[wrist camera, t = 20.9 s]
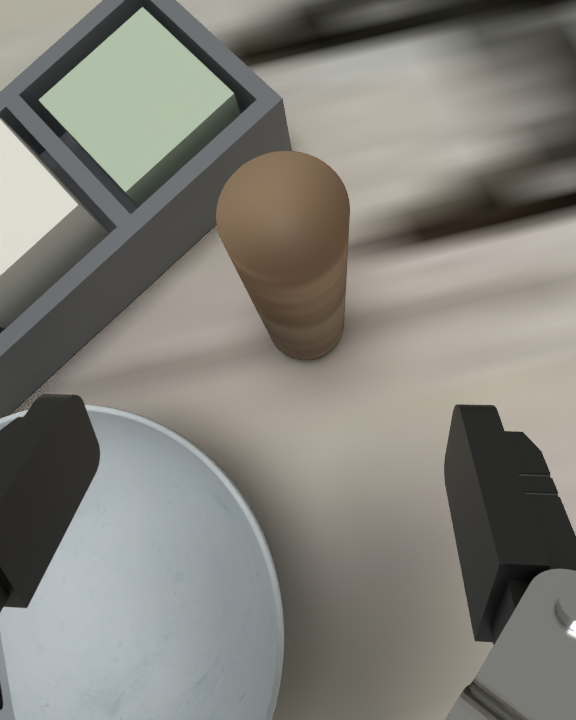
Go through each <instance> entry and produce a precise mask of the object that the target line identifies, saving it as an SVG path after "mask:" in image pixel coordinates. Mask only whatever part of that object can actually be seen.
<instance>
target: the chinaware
mask: <svg viewBox="0 0 576 720" xmlns="http://www.w3.org/2000/svg"><path fill="white" fill-rule="evenodd" d="M84 405H85V404H84ZM85 407H86V410H87V413H88V416H89V418H90V421H91V424H92V426H93V429H94V432H95V435H96V437H97V440H98V443H99V447H100V461H99V466H98V469H97V472H96V474H95V476H94V478H93V480H92V482H91V484H90V486H89V488H88V490H87V492H86V494H85V496H84V498H83V500H82V502H81V503H80V505H79V507H78V509H77V511H76V513H75V515H74V517H73V519H72V521H71V523H70V525H69V527H68V529H67V531H66V533H65V535H64V537H63V539H62V541H61V543H60V545H59V547H58V549H57V551H56V553H55V554H54V556H53V558H52V560H51V562H50V564H49V566H48V568H47V570H46V572H45V574H44V576H43V578H42V580H41V582H40V584H39V586H38V588H37V590H36V592H35V594H34V596H33V598H32V600H31V602H30V603H29V605H28V607H27V608H15V607H3V609H2V611H1V612H0V634H1V640H2V646H3V652H4V658H5V664H6V670H7V676H8V682H9V688H10V694H11V700H12V706H13V711H14V716H15V719H16V720H272V718H273V714H274V711H275V707H276V703H277V698H278V694H279V688H280V683H281V676H282V668H283V657H284V618H283V607H282V599H281V592H280V587H279V582H278V577H277V573H276V569H275V565H274V562H273V558H272V555H271V552H270V549H269V546H268V543H267V541H266V538H265V536H264V533H263V531H262V529H261V527H260V524H259V523H258V521H257V519H256V517H255V515H254V513H253V511H252V509H251V508H250V506H249V504H248V503H247V501H246V500H245V498H244V496H243V495H242V494H241V492H240V491H239V489H238V488H237V487H236V485H235V484H234V483H233V482H232V480H231V479H230V478H229V477H228V476H227V474H226V473H225V472H224V471H223V470H222V469H221V468H220V467H219V466H218V465H217V464H216V463H215V462H214V461H213V460H212V459H211V458H210V457H209V456H208V455H206V454H205V453H204V452H203V451H202V450H200V449H199V448H198V447H197V446H195V445H194V444H193V443H191V442H190V441H188V440H187V439H185V438H184V437H182V436H181V435H179V434H178V433H176V432H174V431H173V430H171V429H169V428H167V427H165V426H163V425H161V424H159V423H157V422H155V421H153V420H150V419H148V418H145V417H143V416H140V415H137V414H134V413H131V412H127V411H124V410H120V409H115V408H110V407H104V406H97V405H85ZM27 411H28V410H25V411H21V412H18V413H15V414H12V415H9V416H6V417H3V418H1V419H0V430H1V429H2V428H4V427H5V426H6V425H8V424H9V423H10V422H12V421H13V420H14V419H16V418H17V417H24V416H25V414H26V413H27Z"/></svg>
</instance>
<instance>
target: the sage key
mask: <svg viewBox="0 0 576 720" xmlns="http://www.w3.org/2000/svg"><path fill="white" fill-rule="evenodd" d="M39 101H40V102H41V104H42V105H43V106H44V107H45V108H46V109H47V110H48V111H49V113H50V114H51V115H52V116H53V117H54V118H55V119H56V120H57V122H58V123H59V124H60V125H61V126H62V127H63V128H64V129H65V131H66V132H67V133H68V134H69V135H70V136H71V137H72V138H73V140H74V141H75V142H76V143H77V144H78V145H79V146H80V147H81V148H82V149H83V150H84V151H85V152H86V154H87V155H88V156H89V157H90V158H91V159H92V160H93V161H94V162H95V163H96V164H97V165H98V166H99V167H100V168H101V169H102V171H103V172H104V173H105V174H106V175H107V176H108V177H109V178H110V179H111V180H112V181H113V182H114V183H115V184H116V185H117V186H118V187H119V189H120V190H121V191H122V192H123V193H124V194H125V195H126V196H127V197H128V198H129V199H130V200H131V201H132V202H133V203H134V204H135V205H136V207H137V208H138V207H140V206H141V205H142V204H143V203H144V202H145V201H146V200H147V199H148V198H149V197H151V196H152V195H153V194H154V193H155V192H156V191H157V190H158V189H159V188H160V187H161V186H163V185H164V184H165V183H166V182H167V181H168V180H169V179H170V178H171V177H172V176H174V175H175V174H176V173H177V172H178V171H179V170H180V169H181V168H182V167H183V166H185V165H186V164H187V163H188V162H189V161H190V160H191V159H192V158H193V157H194V156H196V155H197V154H198V153H199V152H200V151H201V150H202V149H203V148H204V147H205V146H206V145H208V144H209V143H210V142H211V141H212V140H213V139H214V138H215V137H216V136H217V135H219V134H220V133H221V132H222V131H223V130H224V129H225V128H226V127H227V126H228V125H230V124H231V123H232V122H233V121H234V120H235V119H236V118H237V117H238V116H239V115H240V114H241V113H240V110H239V107H238V104H237V101H236V97H235V94H234V93H233V92H232V91H231V90H230V89H229V88H228V87H227V86H226V85H225V84H224V83H223V82H222V81H221V80H220V79H219V78H217V77H216V76H215V75H214V74H213V73H212V72H211V71H210V70H209V69H208V68H207V67H206V66H205V65H204V64H203V63H202V62H201V61H199V60H198V59H197V58H196V57H195V56H194V55H193V54H192V53H191V52H190V51H189V50H188V49H187V48H186V47H185V46H184V45H182V44H181V43H180V42H179V41H178V40H177V39H176V38H175V37H174V36H173V35H172V34H171V33H170V32H169V31H168V30H167V29H165V28H164V27H163V26H162V25H161V24H160V23H159V22H158V21H157V20H156V19H155V18H154V17H153V16H152V15H151V14H150V13H149V12H147V11H146V10H145V9H144V8H143V7H142V8H141V9H140V10H138V11H137V12H136V13H135V14H134V15H133V16H132V17H131V18H129V19H128V20H127V21H126V22H125V23H124V24H123V25H122V26H121V27H119V28H118V29H117V30H116V31H115V32H114V33H113V34H112V35H110V36H109V37H108V38H107V39H106V40H105V41H104V42H103V43H102V44H100V45H99V46H98V47H97V48H96V49H95V50H94V51H93V52H91V53H90V54H89V55H88V56H87V57H86V58H85V59H84V60H83V61H81V62H80V63H79V64H78V65H77V66H76V67H75V68H74V69H73V70H71V71H70V72H69V73H68V74H67V75H66V76H65V77H64V78H62V79H61V80H60V81H59V82H58V83H57V84H56V85H55V86H54V87H52V88H51V89H50V90H49V91H48V92H47V93H46V94H45V95H43V96H42V97H41V98H40V99H39Z"/></svg>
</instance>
